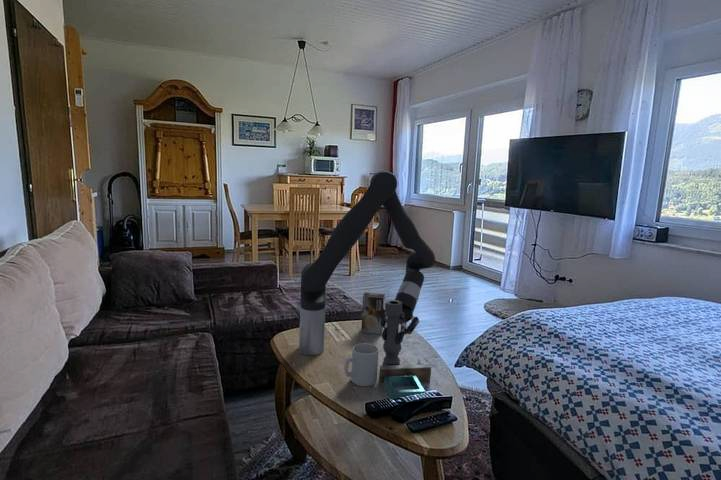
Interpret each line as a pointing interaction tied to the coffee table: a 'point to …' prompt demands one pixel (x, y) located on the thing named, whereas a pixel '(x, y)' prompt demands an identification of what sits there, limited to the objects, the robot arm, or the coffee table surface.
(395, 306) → the candle holder
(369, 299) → the coffee box
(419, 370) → the door edge rail
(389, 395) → the frame
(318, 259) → the robot arm
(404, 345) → the coffee table surface
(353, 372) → the mug
